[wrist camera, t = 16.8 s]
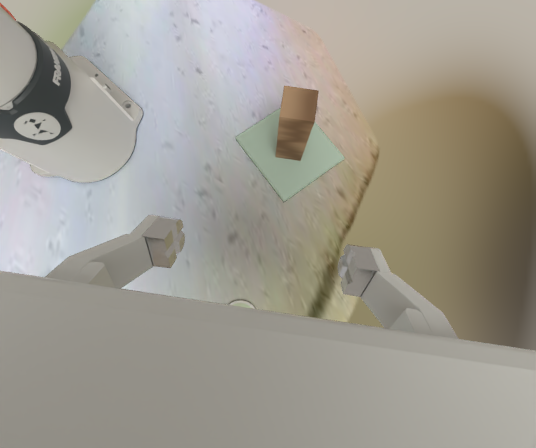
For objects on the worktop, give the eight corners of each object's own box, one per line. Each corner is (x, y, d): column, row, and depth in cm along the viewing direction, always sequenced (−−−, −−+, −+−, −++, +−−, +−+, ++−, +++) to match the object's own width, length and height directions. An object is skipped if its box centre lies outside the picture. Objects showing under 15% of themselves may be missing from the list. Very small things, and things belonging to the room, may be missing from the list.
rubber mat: (236, 139, 36) (235, 137, 35) (294, 101, 37) (295, 98, 37) (283, 202, 34) (284, 201, 34) (343, 160, 36) (344, 157, 35)
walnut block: (275, 157, 35) (279, 116, 25) (279, 132, 35) (284, 84, 26) (300, 160, 35) (314, 121, 25) (303, 136, 35) (318, 89, 26)
